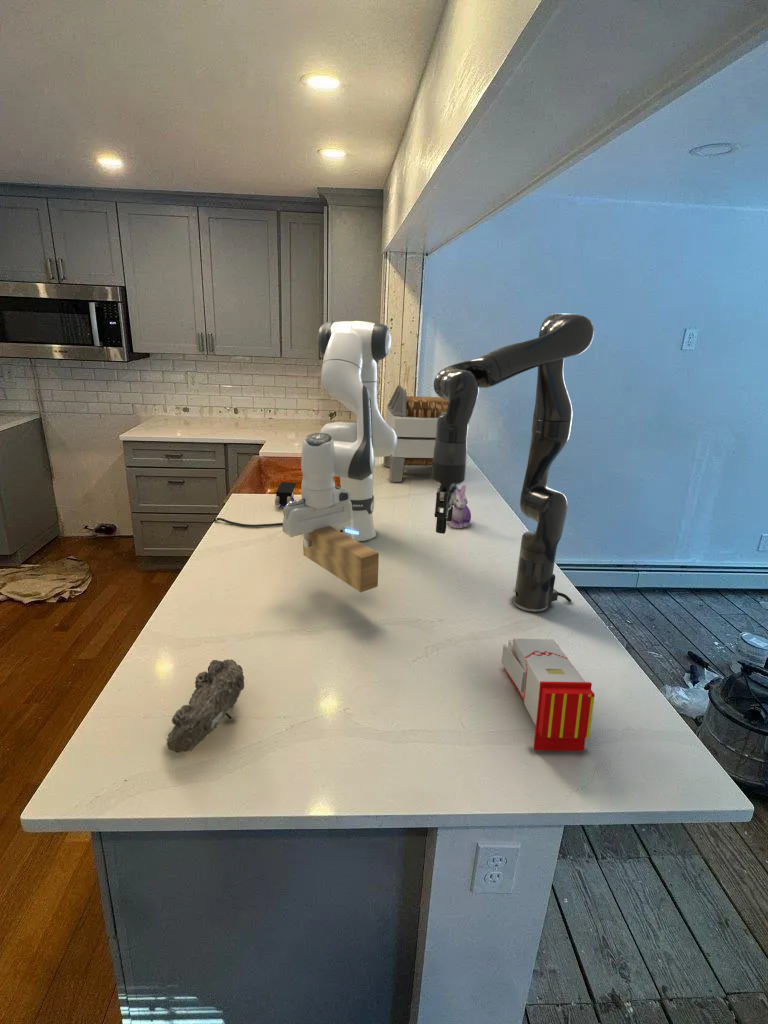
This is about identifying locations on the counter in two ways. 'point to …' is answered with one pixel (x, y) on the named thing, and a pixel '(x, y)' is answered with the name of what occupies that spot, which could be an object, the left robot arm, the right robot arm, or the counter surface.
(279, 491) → the figurine character
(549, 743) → the toy
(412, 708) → the counter surface
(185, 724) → the fossil
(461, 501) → the figurine
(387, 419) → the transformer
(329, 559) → the bar
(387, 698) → the counter surface
